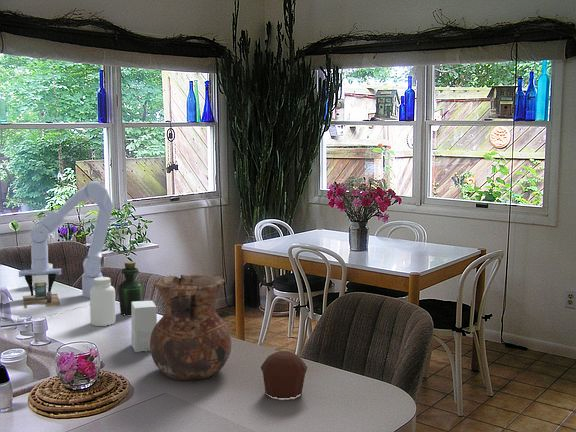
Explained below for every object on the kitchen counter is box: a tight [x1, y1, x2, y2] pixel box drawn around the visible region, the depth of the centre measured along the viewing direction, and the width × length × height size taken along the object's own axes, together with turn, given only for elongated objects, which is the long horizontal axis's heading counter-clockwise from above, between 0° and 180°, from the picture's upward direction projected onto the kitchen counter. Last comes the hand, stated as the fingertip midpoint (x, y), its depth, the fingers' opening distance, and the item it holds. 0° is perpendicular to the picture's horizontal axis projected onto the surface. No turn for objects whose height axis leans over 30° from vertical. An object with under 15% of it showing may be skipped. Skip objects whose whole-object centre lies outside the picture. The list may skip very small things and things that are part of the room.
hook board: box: [22, 291, 62, 309], centre depth 242 cm, size 19×12×5 cm, turn 23°
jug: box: [149, 274, 233, 381], centre depth 175 cm, size 22×21×25 cm
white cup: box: [30, 262, 53, 289], centre depth 265 cm, size 8×8×10 cm
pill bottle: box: [89, 276, 117, 327], centre depth 219 cm, size 8×8×15 cm
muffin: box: [260, 350, 308, 398], centre depth 163 cm, size 12×11×10 cm
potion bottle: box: [117, 260, 143, 315], centre depth 232 cm, size 8×8×18 cm
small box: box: [130, 300, 158, 353], centre depth 195 cm, size 8×6×13 cm
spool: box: [34, 282, 47, 297], centre depth 246 cm, size 4×4×6 cm
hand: (40, 294), depth 246 cm, fingers open, 5 cm apart
